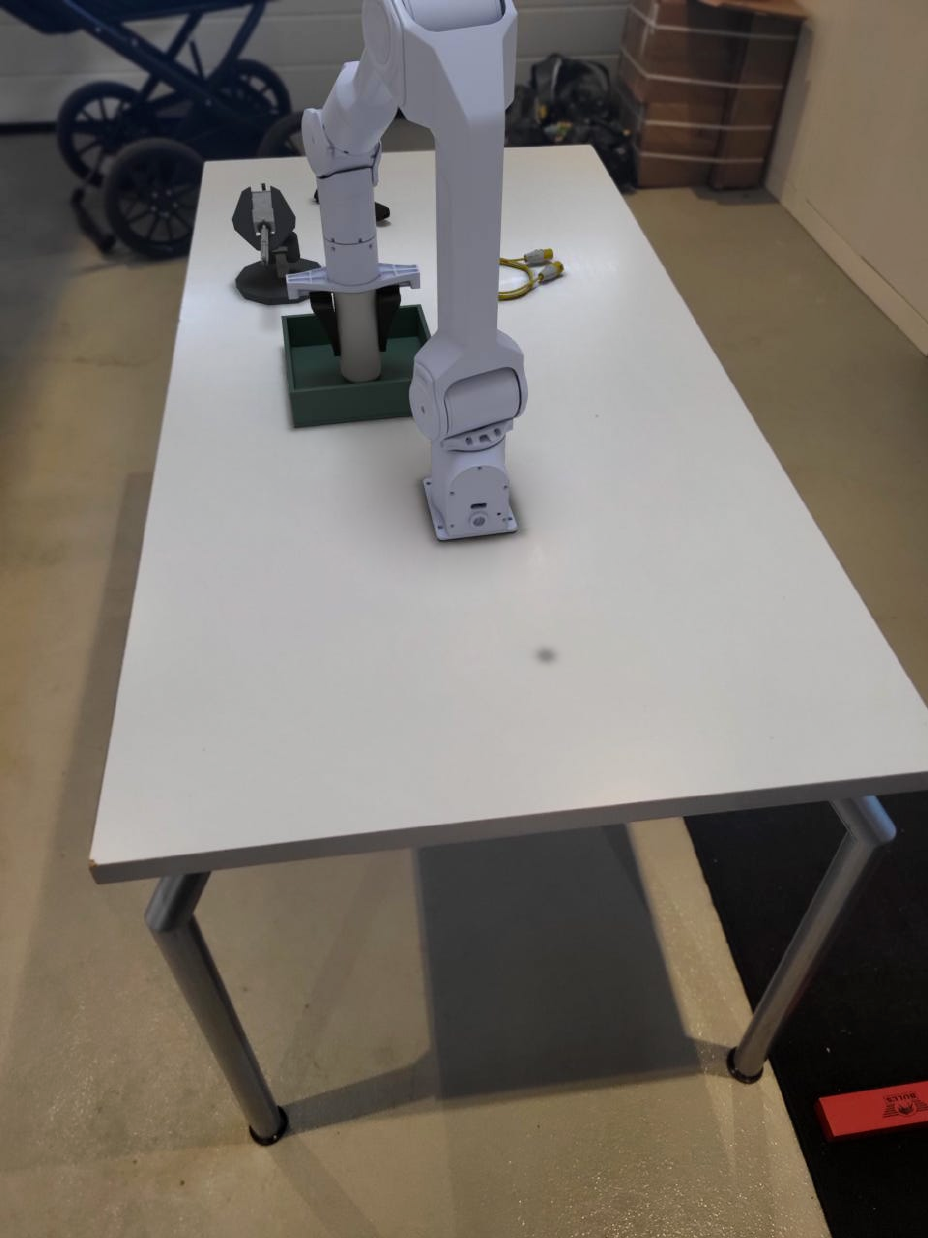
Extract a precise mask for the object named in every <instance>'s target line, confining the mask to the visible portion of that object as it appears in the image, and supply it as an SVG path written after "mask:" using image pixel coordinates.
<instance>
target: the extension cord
mask: <svg viewBox="0 0 928 1238" xmlns="http://www.w3.org/2000/svg"><path fill="white" fill-rule="evenodd" d="M553 259H554V251H553V248H546V249H543V248H538V249H535V250H532V251H530V252H528V253H524V254H523V257H520V258H512V259H509V258H504V257H500V264H501V265H507V266H511V267H513V268H518V269H521V270H523V271H525V272H526V273H527V274H528V276H529V282H528V283H526V284H525V285H523V286H521V287H518V288H516V289H513V290H507V291H498V301H500V300H501V301H502V300H508V299H512V298H516V297H519V296H521V295H525V294H526V293H527V292H529V291H530V290H531V289H532V287H533V285H534V283H536V282H538V281H540V282H543V281H547V280H553V279H554V278H555V277H557V276H558V275H560V274H562V273H563V271H564V270H565V267H564V264H563V263H562V262H561V261H559V260H556V261H554V262H552V263H550V264H548V265H545V266H544V268H543V269H542V270H541V271H540V272H539V273H538V274H537V277H536V278H533V274H532V272H531V271H532V270H531V269H530V268H529V266H527V265H526V264H541V263H544V262H546V261H551V260H553ZM523 261H524V263H525V264H524V263H522V262H523Z"/></svg>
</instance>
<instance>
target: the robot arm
mask: <svg viewBox="0 0 928 1238" xmlns="http://www.w3.org/2000/svg"><path fill="white" fill-rule="evenodd" d="M518 15H519V14H518V11H517V9H516V7H515V4H514V2H513V0H362V7H361V27H362V37H363V42H364V48H363V51H362V54H361V56H360V59H359V60H353V61H347V62H344V63H343V65H342V67H341V69H340V70H341V72H340V73H339V75H338V77H337V79H336V80H335V82H334V84H333V86H332V89H331V90H330V92H329V94H328V96H327V98H326V100H325V102H324V104H323V106H322V108H319V109H316V108H313V107H312V108H305V109H304V110H303V113H302V118H301V138H302V144H303V145H302V146H303V149H304V153H305V157H306V160H307V163H308V165H309V167H310V169H311V171H312V172H313V173H314V175H315V180H316V189H318V198H319V202H318V205H319V215H320V216H319V217H320V225H321V235H322V243H323V250H324V251H323V252H324V261H325V266H321V267H322V268H318V269H314V270H310V271H306V272H302V273H297V274H289V275H286V281H287V288H288V295H289V299H298V298H299V296H303V295H309V297H310V298H309V304H310V307H311V308H310V309H311V310H312V313H314V314H315V315H316V317H317V318H318V319H319V321H320V323H321V324H322V326H323V327H324V329H325V331H326V333H327V335H328V337H329V340H330V342H331V345H332V348H333V352H334V356H340V348H339V343H338V338H337V332H336V325H335V313H334V301H333V292H342V293H360V292H365V291H369V290H373V289H376V298H377V312H378V327H379V346H380V352H386V345H387V339H388V334H389V331H390V327H391V324H392V321H393V319H394V317H395V315H396V313H397V311H398V309H399V307H400V306H401V303H402V295H401V288H410V290H419V289H421V271H420V268H419V265H418V264H417V263H416V264H399V263H389V262H388V263H386V262H379V249H378V248H379V247H378V232H377V221H376V216H375V202H376V201H375V188H376V187H377V186H378V183H379V166H380V163H381V160H382V150H383V149H382V142H381V138H382V137H383V135H384V133H386V131H387V129H388V128H389V127H390V125H391V123H392V122H393V120H394V119H395V117H396V115H397V112H398V108H399V109H400V111H401V113H402V114H403V116H404V117H405V119H406V120H407V121H409V122H411V123H414V124H417V125H419V126H422V127H424V128H427V129H429V130H430V132H431V133H432V135H433V138H434V159H435V160H434V162H435V163H434V165H435V166H434V167H435V169H434V170H435V173H434V174H435V221H436V222H435V226H436V227H435V229H436V230H435V231H436V232H435V233H436V234H435V237H436V238H435V239H436V287H437V288H436V296H437V297H436V298H437V299H436V303H437V304H436V305H437V307H436V308H437V329H436V331H435V332H434V333H433V334H432V335H431V338H430V339H429V340H428V341H427V343H426V344H425V345H424V346H423V347H422V348H421V349H420V350H419V352H418V353H417V354H416V355H415V357H414V372H413V379H412V383H411V385H410V389H409V401H410V407H411V411H412V414H413V415H412V417H413V420H414V422H415V425H416V426H417V428H418V430H419V432H420V433H421V434H422V436H423V437H425V438H427V439H428V440H429V441H430V465H431V466H430V467H431V471H430V472H431V477H425V478H424V479H423V480H422V484H423V488H424V491H425V495H426V498H427V504H428V507H429V511H430V515H431V519H432V523H433V527H434V531H435V535H436V538H437V539H438V540H440V541H446V540H453V539H460V538H461V539H462V538H470V537H479V536H486V535H494V534H503V533H510V532H515V531H516V530H518V525H517V522H516V519H515V516H514V513H513V511H512V508H511V505H510V488H511V486H510V485H511V483H510V477H509V475H508V472H507V469H506V465H505V458H506V442H507V441H506V437H507V433H509V432H510V431H513V430H514V419H516V418H519V417H521V416H522V415H523V414H524V412H525V410H526V408H527V404H528V399H529V387H528V381H527V377H526V373H525V363H524V362H525V361H524V359H525V354H524V352H523V351H522V350H521V347H520V345H519V344H518V343H517V342H516V340H514V339H513V338H512V337H511V336H510V335H508V334H507V333H505V332H503V331H502V330H500V329H498V316H499V315H498V313H499V312H498V311H499V300H498V295H499V294H498V292H499V289H500V288H499V287H500V286H499V285H500V264H501V263H500V258H501V236H502V211H503V210H502V209H503V183H504V182H503V181H504V159H505V158H504V157H505V154H504V153H505V131H506V130H505V129H506V110H507V109H508V108H509V106H511V104H512V103H513V101H514V100H515V84H516V67H517V65H516V64H517V47H518V46H517V44H518V19H519V17H518Z"/></svg>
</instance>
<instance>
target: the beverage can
mask: <svg viewBox="0 0 928 1238" xmlns="http://www.w3.org/2000/svg"><path fill="white" fill-rule="evenodd" d="M332 299H333V306H334V311H335V320H336V330H337V338H338V343H339V348H340V356H339V358H340V367H341V373H342V375H343V376H344V378H345V379H346V380H348V381H349V382H352V383H355V384H356V383H366V382H373V381H374V380H376V379H377V378H378V376H379V375H380V374H381V356H380V346H379V327H378V312H377V298H376V289H373V290H369V291H365V292H360V293H342V292H333V293H332Z"/></svg>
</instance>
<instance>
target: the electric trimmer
mask: <svg viewBox="0 0 928 1238" xmlns="http://www.w3.org/2000/svg"><path fill="white" fill-rule="evenodd" d="M313 199H314V200H315V202H317V203H319V198H318V189H317V188H316V189H315V191H314V194H313ZM375 216H376V222H381V221H384V220H386V219H389V218H390V216H391V209H390V208H389V207H388V206H386V205H384V204H381V203H379V202H376V201H375Z"/></svg>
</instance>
